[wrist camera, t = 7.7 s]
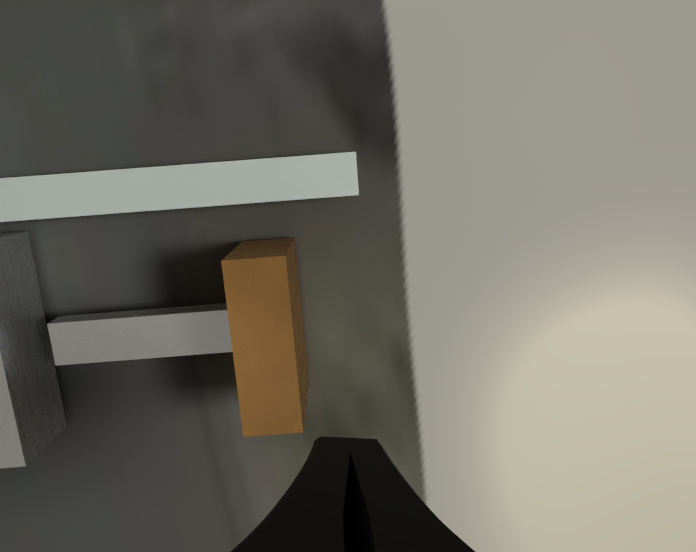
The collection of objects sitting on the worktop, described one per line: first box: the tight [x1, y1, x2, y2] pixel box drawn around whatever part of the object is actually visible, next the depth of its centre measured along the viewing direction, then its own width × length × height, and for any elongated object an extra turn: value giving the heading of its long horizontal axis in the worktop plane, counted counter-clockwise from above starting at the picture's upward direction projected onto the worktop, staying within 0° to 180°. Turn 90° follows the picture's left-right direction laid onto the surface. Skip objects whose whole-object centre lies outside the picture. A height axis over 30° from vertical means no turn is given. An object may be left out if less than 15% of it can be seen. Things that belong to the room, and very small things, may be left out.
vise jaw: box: [0, 231, 309, 468], centre depth 19 cm, size 8×12×4 cm, turn 94°
